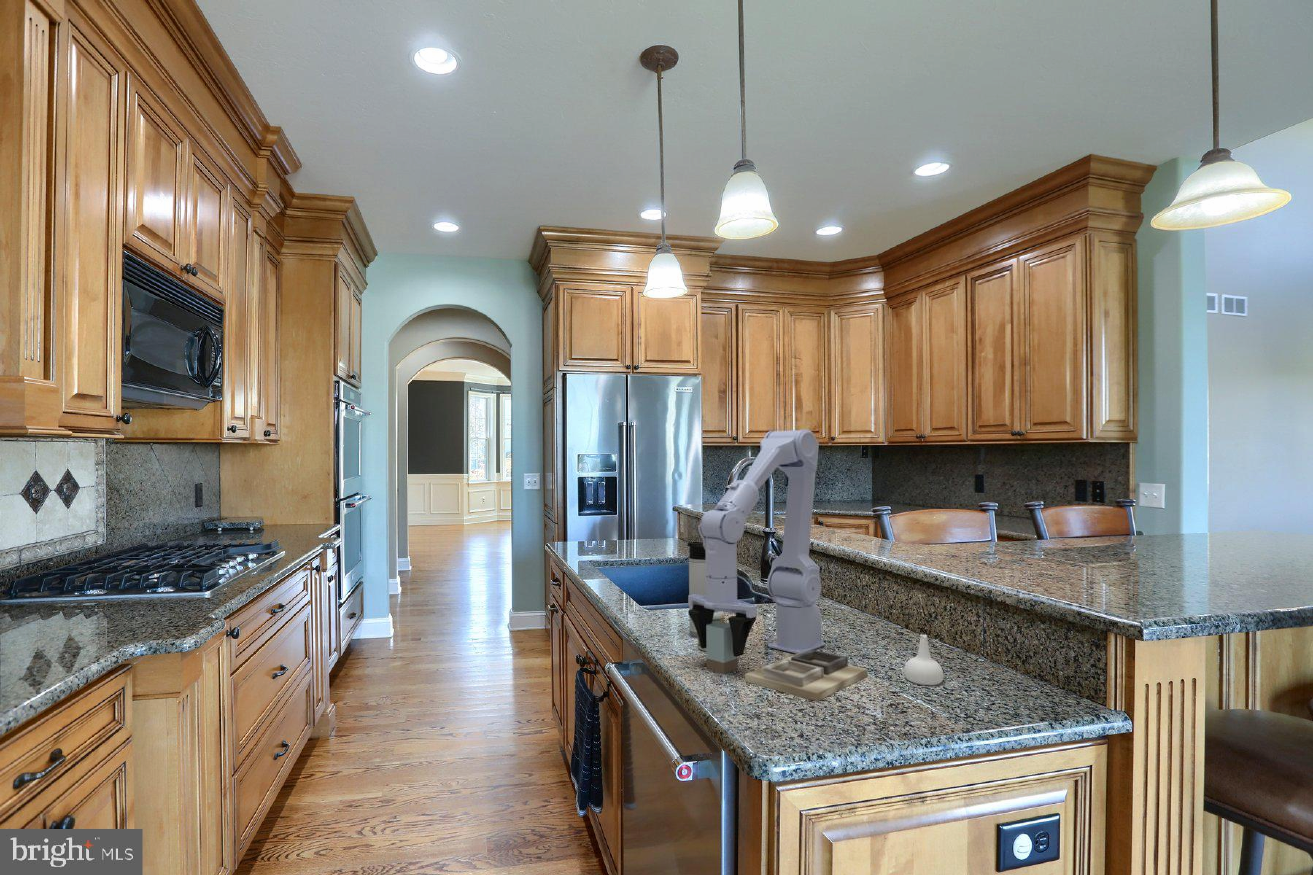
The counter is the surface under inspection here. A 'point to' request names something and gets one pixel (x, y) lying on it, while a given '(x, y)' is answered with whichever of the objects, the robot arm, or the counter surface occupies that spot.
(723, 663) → the banded peg
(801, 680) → the board
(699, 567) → the travel mug
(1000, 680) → the counter surface
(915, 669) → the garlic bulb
